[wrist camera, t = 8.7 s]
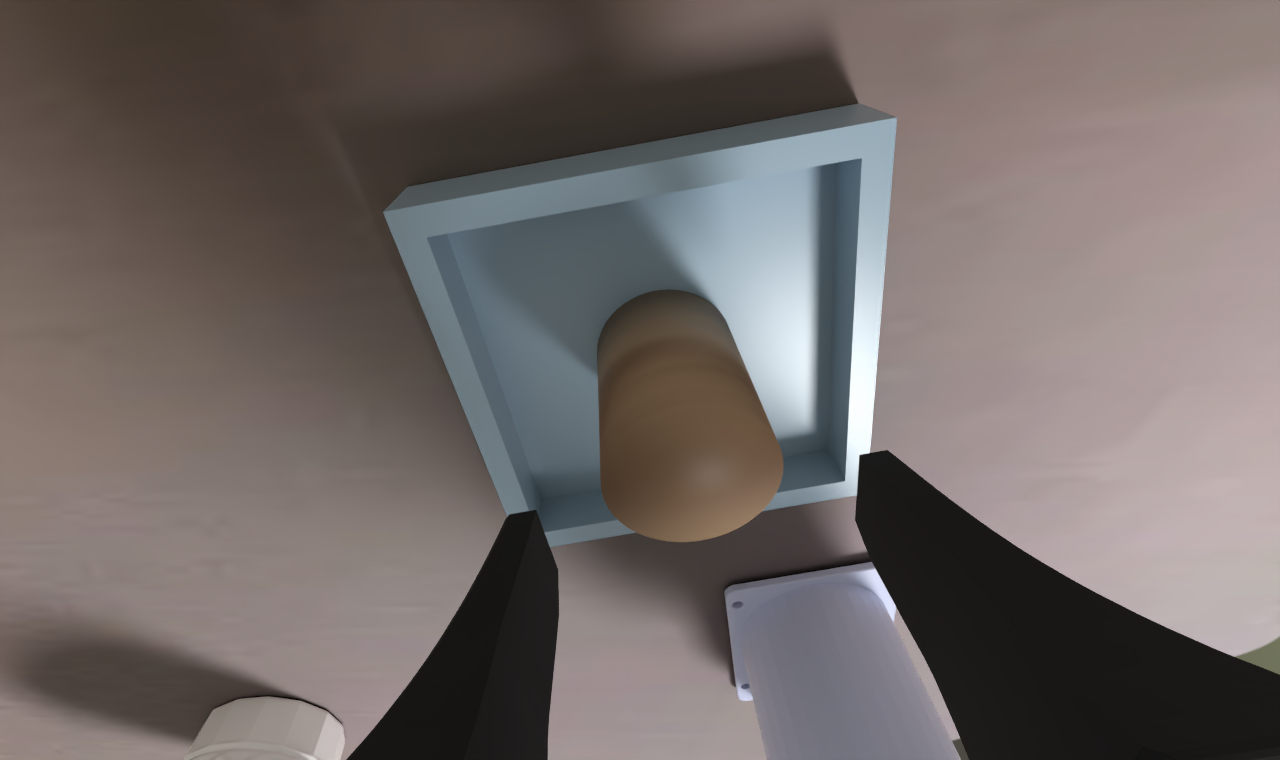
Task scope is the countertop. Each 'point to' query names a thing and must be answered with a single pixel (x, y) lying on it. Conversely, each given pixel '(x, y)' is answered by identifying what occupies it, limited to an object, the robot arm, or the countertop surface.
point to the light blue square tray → (660, 260)
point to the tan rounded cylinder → (680, 422)
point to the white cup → (268, 732)
